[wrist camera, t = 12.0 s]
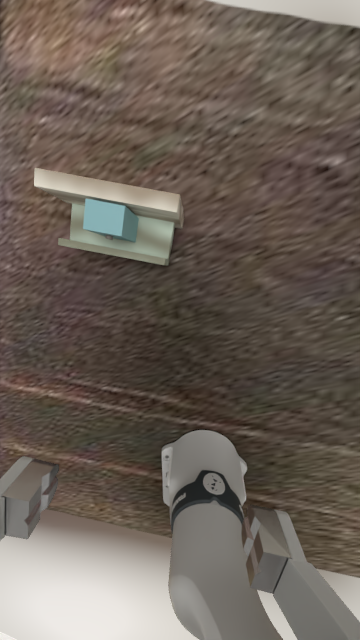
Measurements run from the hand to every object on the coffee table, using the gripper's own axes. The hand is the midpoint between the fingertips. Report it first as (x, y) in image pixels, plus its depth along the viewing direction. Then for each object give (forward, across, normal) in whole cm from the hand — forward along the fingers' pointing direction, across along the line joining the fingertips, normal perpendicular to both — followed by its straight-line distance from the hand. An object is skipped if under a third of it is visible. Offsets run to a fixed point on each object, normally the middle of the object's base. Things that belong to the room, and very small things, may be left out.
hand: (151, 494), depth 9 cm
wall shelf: (+34, +12, -14) cm, 39 cm away
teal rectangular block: (+29, +12, -13) cm, 34 cm away
